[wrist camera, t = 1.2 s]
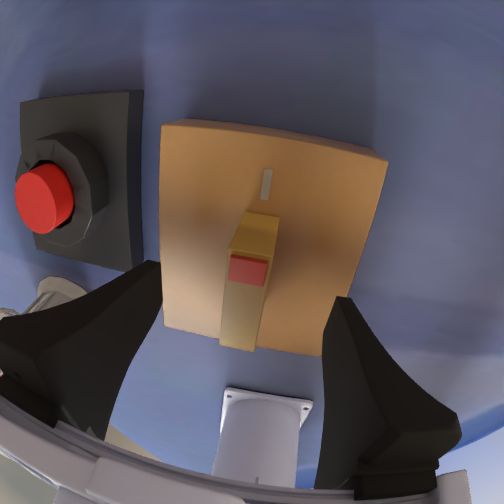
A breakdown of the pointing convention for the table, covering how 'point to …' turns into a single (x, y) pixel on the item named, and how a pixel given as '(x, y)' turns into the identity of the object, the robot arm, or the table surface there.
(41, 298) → the french press
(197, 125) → the plate
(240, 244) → the lock knob
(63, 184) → the button
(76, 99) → the box
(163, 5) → the table surface
